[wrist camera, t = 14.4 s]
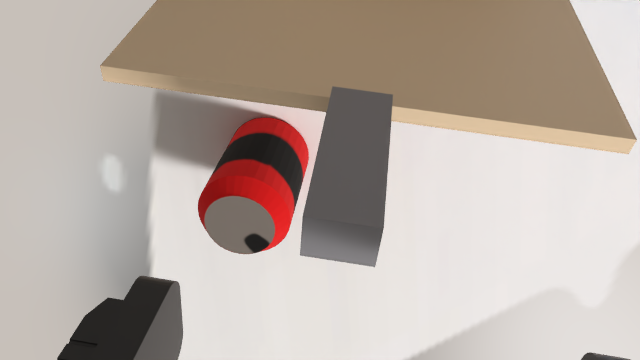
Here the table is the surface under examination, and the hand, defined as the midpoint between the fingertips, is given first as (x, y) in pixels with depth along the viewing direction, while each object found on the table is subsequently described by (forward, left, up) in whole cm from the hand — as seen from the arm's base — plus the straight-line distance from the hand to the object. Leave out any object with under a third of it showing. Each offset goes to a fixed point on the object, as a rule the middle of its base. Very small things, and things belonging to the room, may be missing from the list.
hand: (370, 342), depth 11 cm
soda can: (+18, -9, -37) cm, 42 cm away
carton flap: (-3, -1, -15) cm, 15 cm away
